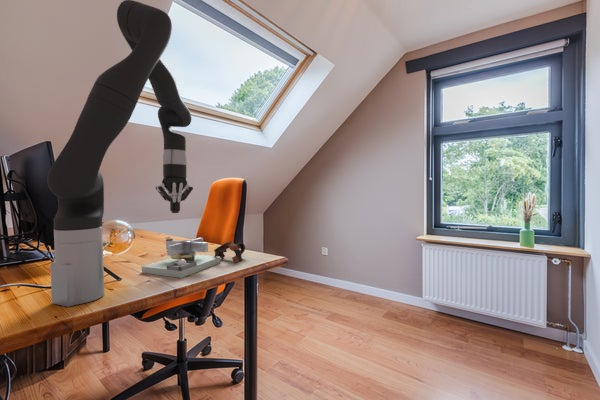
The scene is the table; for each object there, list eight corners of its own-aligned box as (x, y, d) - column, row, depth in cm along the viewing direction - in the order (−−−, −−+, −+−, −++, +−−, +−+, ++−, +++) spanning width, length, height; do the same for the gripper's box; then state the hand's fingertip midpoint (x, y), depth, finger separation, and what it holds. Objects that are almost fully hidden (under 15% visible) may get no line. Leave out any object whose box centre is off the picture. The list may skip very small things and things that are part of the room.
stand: (181, 277, 85) (181, 266, 85) (141, 272, 90) (141, 262, 90) (220, 262, 103) (220, 253, 102) (185, 258, 108) (185, 249, 108)
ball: (182, 268, 87) (182, 260, 87) (175, 268, 88) (175, 259, 88) (188, 266, 90) (188, 258, 90) (181, 265, 91) (181, 257, 91)
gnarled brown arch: (229, 266, 99) (218, 246, 99) (217, 273, 105) (207, 254, 106) (254, 252, 108) (243, 233, 108) (242, 259, 114) (232, 241, 115)
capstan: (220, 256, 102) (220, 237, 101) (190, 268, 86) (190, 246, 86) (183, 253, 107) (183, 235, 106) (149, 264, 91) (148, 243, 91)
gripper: (187, 165, 107) (187, 211, 108) (150, 162, 97) (150, 213, 98) (197, 164, 102) (198, 212, 103) (160, 161, 92) (161, 214, 93)
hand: (175, 212), depth 100 cm, fingers closed
